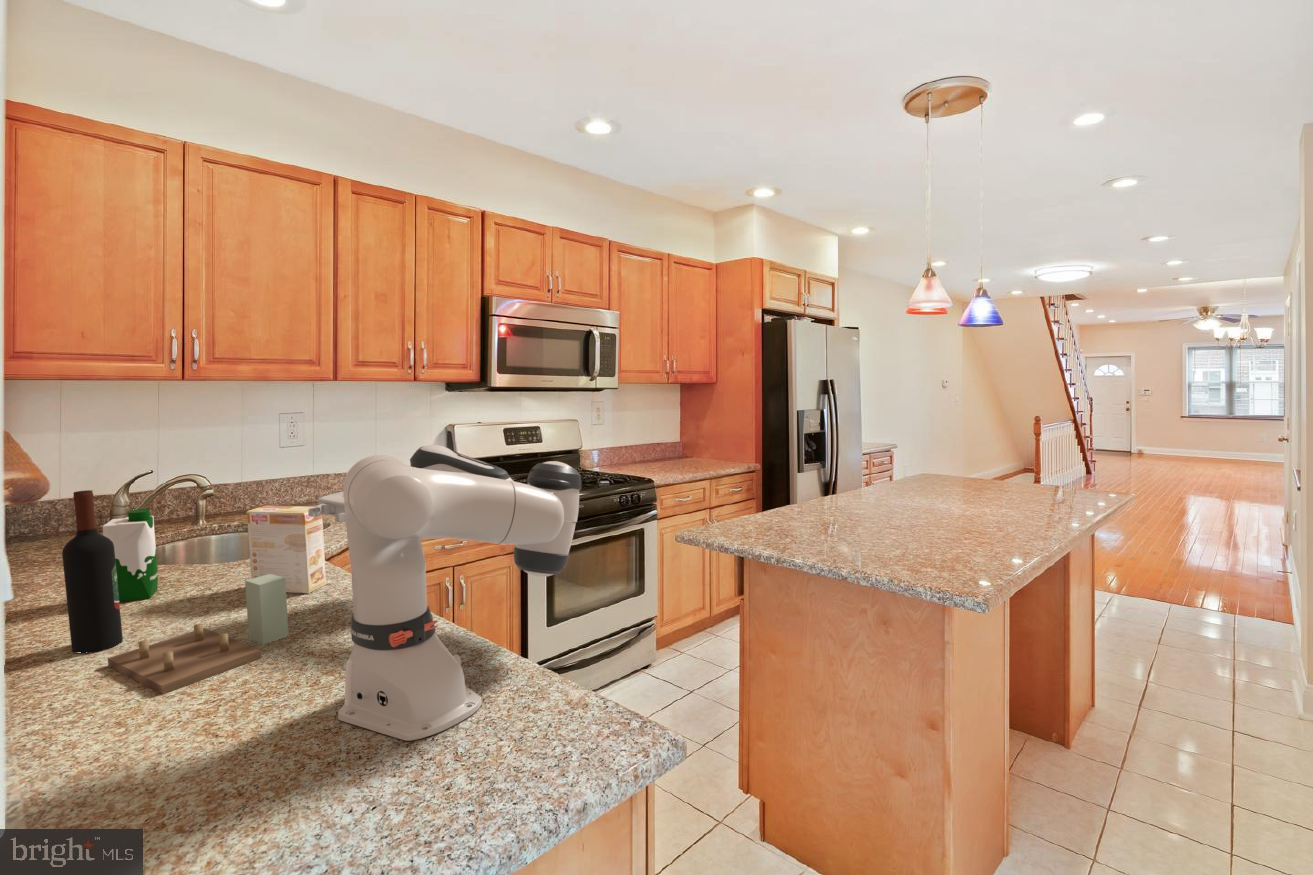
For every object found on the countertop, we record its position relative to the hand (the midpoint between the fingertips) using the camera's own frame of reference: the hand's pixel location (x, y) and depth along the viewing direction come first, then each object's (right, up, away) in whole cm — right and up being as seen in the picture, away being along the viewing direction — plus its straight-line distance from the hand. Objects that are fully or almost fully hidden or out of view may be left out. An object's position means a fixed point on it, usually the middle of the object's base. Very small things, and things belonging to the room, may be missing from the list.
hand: (323, 515), depth 142 cm
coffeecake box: (-19, -20, +21) cm, 35 cm away
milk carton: (-51, -21, +15) cm, 57 cm away
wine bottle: (-38, -24, -12) cm, 46 cm away
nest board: (-16, -24, -19) cm, 35 cm away
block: (-7, -23, -8) cm, 26 cm away
